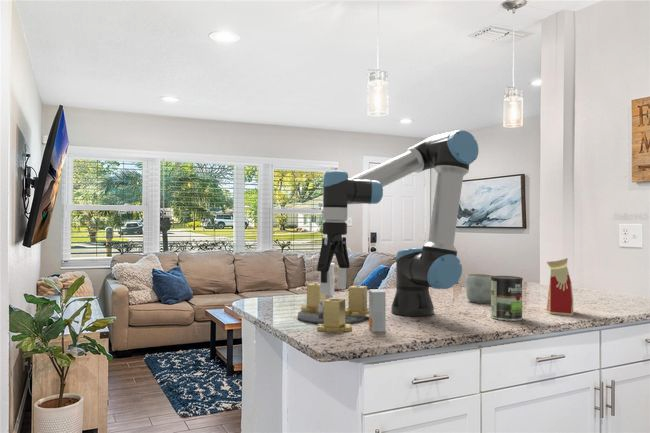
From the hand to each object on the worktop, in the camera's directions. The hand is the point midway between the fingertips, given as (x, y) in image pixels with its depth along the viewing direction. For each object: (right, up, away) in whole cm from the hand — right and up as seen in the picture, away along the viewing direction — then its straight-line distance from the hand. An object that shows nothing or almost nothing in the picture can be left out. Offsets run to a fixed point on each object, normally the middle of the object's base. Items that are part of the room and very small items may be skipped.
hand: (333, 291), depth 158 cm
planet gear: (0, -12, 0) cm, 12 cm away
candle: (-2, -12, +61) cm, 62 cm away
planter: (+62, -12, +54) cm, 83 cm away
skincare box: (+13, -12, 0) cm, 18 cm away
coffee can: (+60, -12, +19) cm, 64 cm away
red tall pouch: (+83, -12, +30) cm, 89 cm away
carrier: (0, -12, +19) cm, 22 cm away
